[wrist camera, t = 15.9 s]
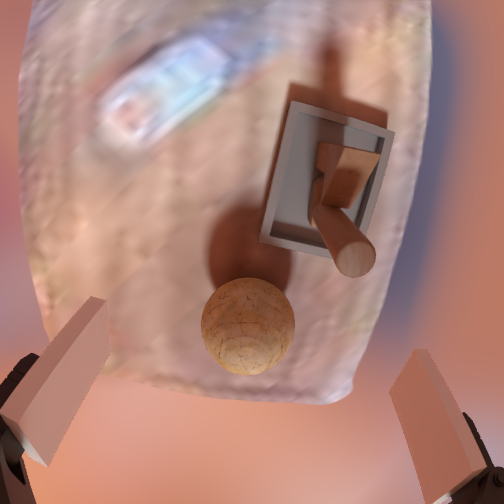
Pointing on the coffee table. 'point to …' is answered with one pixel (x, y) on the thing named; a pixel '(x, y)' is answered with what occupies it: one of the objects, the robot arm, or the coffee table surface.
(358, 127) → the tray
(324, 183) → the brown wooden piece
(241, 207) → the coffee table surface
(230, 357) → the fossilized egg
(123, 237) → the coffee table surface
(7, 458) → the robot arm
